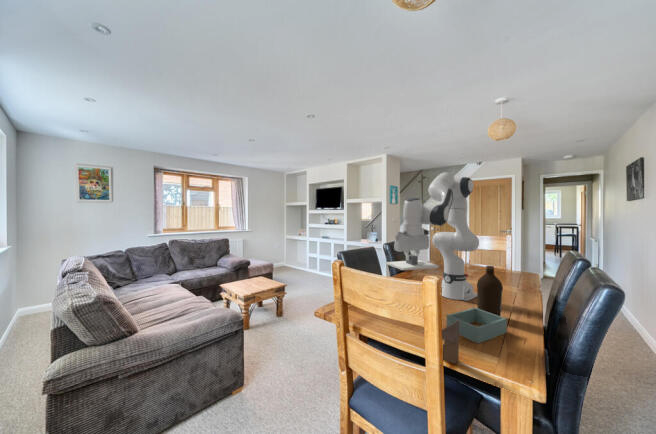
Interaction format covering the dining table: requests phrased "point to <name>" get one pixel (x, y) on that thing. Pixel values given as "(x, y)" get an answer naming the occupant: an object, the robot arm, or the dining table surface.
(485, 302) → the olive oil
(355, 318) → the dining table surface
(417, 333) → the dining table surface
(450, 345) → the wooden block
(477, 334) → the open box
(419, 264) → the lid
